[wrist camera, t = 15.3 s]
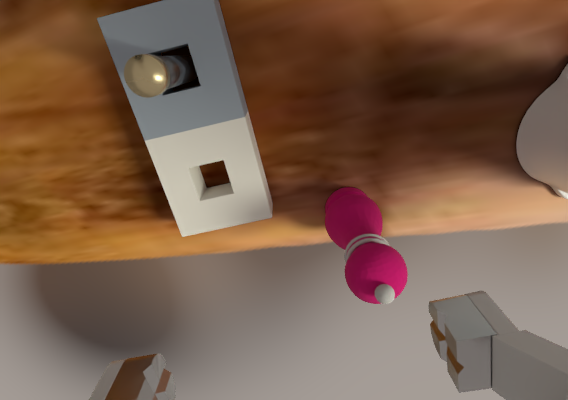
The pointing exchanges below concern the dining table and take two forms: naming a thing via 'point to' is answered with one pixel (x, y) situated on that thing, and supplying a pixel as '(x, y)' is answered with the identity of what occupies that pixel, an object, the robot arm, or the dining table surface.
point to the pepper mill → (364, 247)
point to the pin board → (194, 114)
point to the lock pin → (158, 73)
